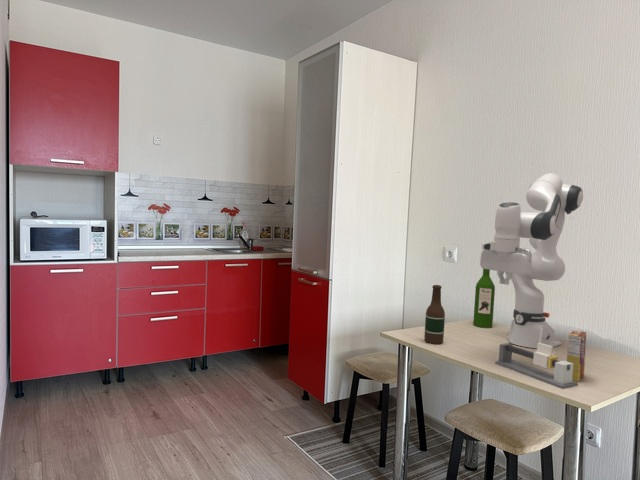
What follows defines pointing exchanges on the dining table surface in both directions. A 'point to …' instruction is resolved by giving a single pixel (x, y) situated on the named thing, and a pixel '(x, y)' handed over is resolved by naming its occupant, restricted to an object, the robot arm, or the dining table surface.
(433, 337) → the beer bottle
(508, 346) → the linear slide rail
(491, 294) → the wine bottle
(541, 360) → the white rectangular block
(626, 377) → the dining table surface
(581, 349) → the candy box
